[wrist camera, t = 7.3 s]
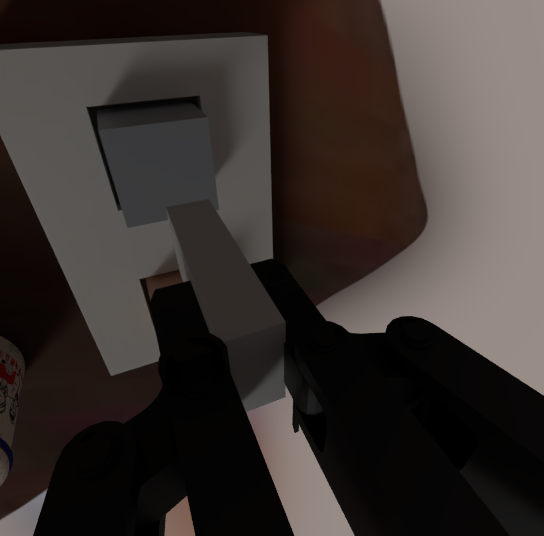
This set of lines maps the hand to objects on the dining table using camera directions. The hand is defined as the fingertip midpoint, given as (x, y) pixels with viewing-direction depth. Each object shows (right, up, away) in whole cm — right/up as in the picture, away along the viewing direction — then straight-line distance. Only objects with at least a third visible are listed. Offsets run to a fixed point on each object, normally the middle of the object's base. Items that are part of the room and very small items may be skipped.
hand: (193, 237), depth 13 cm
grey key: (-4, +6, +8) cm, 11 cm away
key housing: (-5, +3, +14) cm, 15 cm away
